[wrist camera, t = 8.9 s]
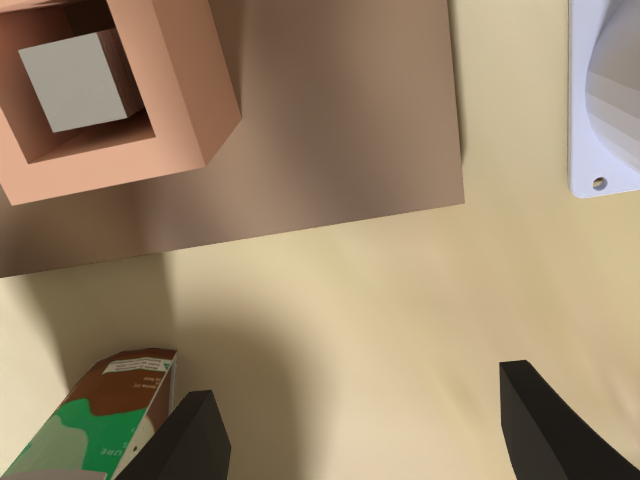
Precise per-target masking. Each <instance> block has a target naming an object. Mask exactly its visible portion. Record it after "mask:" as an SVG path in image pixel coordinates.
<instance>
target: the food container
mask: <svg viewBox="0 0 640 480" xmlns="http://www.w3.org/2000/svg"><path fill="white" fill-rule="evenodd" d="M176 359H177V351H176V350H167V349H157V348H148V349H140V350H131V351H123V352H120V353H118V354H115V355H113V356H111V357H109V358H106V359H104V360H102V361H100V362H97V363H96V364H95V365H94V366H93V367H92V368H91V369H90V370H89V371H88V372H87V373H86V374H85V375H84V376H83V377H82V378H81V380H80V381H79V382H78V383H77V384H76V386H75V387H74V388H73V389H72V391H71V392H70V393H69V394H68V396H67V397H66V398H65V399H64V400H63V402H62V403H61V404H60V405H59V407H58V408H57V409H56V410H55V412H54V413H53V414H52V415H51V416H50V418H49V419H48V420H47V421H46V423H45V424H44V425H43V426H42V428H41V429H40V430H39V431H38V432H37V434H36V435H35V436H34V437H33V439H32V440H31V441H30V442H29V444H28V445H27V446H26V447H25V448H24V450H23V451H22V452H21V453H20V455H19V456H18V457H17V458H16V460H15V461H14V462H13V463H12V464H11V466H10V467H9V468H8V469H7V471H6V472H5V473H4V474H3V476H2V477H1V478H0V480H114V479H115V478H116V477H117V476H118V475H119V473H120V472H121V471H122V470H123V469H124V468H125V467H126V466H127V465H128V464H129V463H130V462H131V460H132V459H133V458H134V457H135V456H136V455H137V454H138V453H139V451H140V450H141V449H142V448H143V447H144V446H145V444H146V443H147V442H148V441H149V440H150V438H151V437H152V436H153V435H154V434H155V433H156V431H157V430H158V429H159V428H160V426H161V425H162V424H163V423H164V422H165V420H166V419H167V418H168V417H169V416H170V414H171V413H172V412H173V399H174V386H175V373H176Z"/></svg>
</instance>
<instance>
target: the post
mask: <svg viewBox="0 0 640 480" xmlns="http://www.w3.org/2000/svg"><path fill="white" fill-rule="evenodd" d="M18 52H19V54H20V57H21V59H22V61H23V64H24V66H25V68H26V71H27V73H28V75H29V78H30V80H31V82H32V85H33V87H34V89H35V92H36V94H37V96H38V99H39V101H40V103H41V105H42V108H43V110H44V112H45V115H46V117H47V119H48V122H49V124H50V126H51V129H52V131H53V133H54V132H59V131H64V130H69V129H74V128H79V127H84V126H89V125H94V124H99V123H104V122H109V121H114V120H119V119H124V118H128V117H129V116H131V115H133V114H134V113H136V112H137V111H139V110H140V109H142V108H143V107H145V105H144V102H143V99H142V97H141V94H140V91H139V88H138V86H137V83H136V80H135V77H134V75H133V72H132V69H131V66H130V64H129V61H128V58H127V55H126V52H125V50H124V47H123V44H122V41H121V39H120V36H119V33H118V30H117V28H113V29H108V30H104V31H99V32H95V33H91V34H86V35H82V36H77V37H73V38H69V39H64V40H60V41H56V42H51V43H47V44H42V45H38V46H34V47H29V48H25V49H21V50H18Z"/></svg>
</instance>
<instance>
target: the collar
mask: <svg viewBox="0 0 640 480" xmlns="http://www.w3.org/2000/svg"><path fill="white" fill-rule="evenodd" d="M84 1H88V0H0V184H1V186H2V188H3V189H4V191H5V193H6V195H7V197H8V199H9V201H10V203H11V205H12V206H13V205H18V204H23V203H28V202H33V201H38V200H43V199H48V198H53V197H58V196H63V195H68V194H73V193H78V192H83V191H88V190H93V189H98V188H103V187H108V186H113V185H118V184H123V183H128V182H133V181H138V180H143V179H148V178H153V177H158V176H163V175H168V174H173V173H178V172H183V171H188V170H193V169H198V168H203V167H206V166H207V165H208V164H209V162H210V161H211V160H212V158H213V157H214V156H215V154H216V153H217V152H218V150H219V149H220V148H221V146H222V145H223V144H224V142H225V141H226V140H227V138H228V137H229V136H230V134H231V133H232V132H233V130H234V129H235V128H236V126H237V125H238V124H239V123H240V121H241V120H242V118H241V114H240V111H239V107H238V104H237V100H236V97H235V93H234V90H233V86H232V83H231V79H230V76H229V72H228V69H227V65H226V62H225V58H224V55H223V51H222V48H221V44H220V41H219V37H218V34H217V30H216V27H215V23H214V20H213V16H212V13H211V9H210V6H209V2H208V0H107V3H108V6H109V8H110V11H111V14H112V17H113V19H114V22H115V25H116V28H117V30H118V33H119V36H120V39H121V41H122V44H123V47H124V50H125V52H126V55H127V58H128V61H129V64H130V66H131V69H132V72H133V75H134V77H135V80H136V83H137V86H138V88H139V91H140V94H141V97H142V99H143V102H144V105H145V108H146V109H145V110H141V111H137V112H136V113H134V114H133V115H131V116H129V117H128V118H124V119H119V120H114V121H109V122H104V123H99V124H94V125H89V126H84V127H79V128H74V129H69V130H64V131H59V132H54V133H53V131H52V129H51V126H50V124H49V122H48V119H47V117H46V115H45V112H44V110H43V108H42V105H41V103H40V101H39V99H38V96H37V94H36V92H35V89H34V87H33V85H32V82H31V80H30V78H29V75H28V73H27V71H26V68H25V66H24V64H23V61H22V59H21V57H20V54H19V52H18V50H21V49H25V48H29V47H34V46H38V45H42V44H47V43H51V42H56V41H60V40H64V39H69V38H73V37H75V36H74V33H73V31H72V28H71V26H70V23H69V21H68V18H67V16H66V13H65V11H64V8H63V7H64V6H68V5H72V4H76V3H80V2H84Z"/></svg>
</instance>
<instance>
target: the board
mask: <svg viewBox="0 0 640 480" xmlns="http://www.w3.org/2000/svg"><path fill="white" fill-rule="evenodd" d="M208 2H209V6H210V9H211V13H212V16H213V20H214V23H215V27H216V30H217V34H218V37H219V41H220V44H221V48H222V51H223V55H224V58H225V62H226V65H227V69H228V72H229V76H230V79H231V83H232V86H233V90H234V93H235V97H236V100H237V104H238V107H239V111H240V114H241V118H242V120H241V121H240V123H239V124H238V125H237V126H236V128H235V129H234V130H233V132H232V133H231V134H230V136H229V137H228V138H227V140H226V141H225V142H224V144H223V145H222V146H221V148H220V149H219V150H218V152H217V153H216V154H215V156H214V157H213V158H212V160H211V161H210V162H209V164H208V165H207V166H206V167H203V168H198V169H193V170H188V171H183V172H178V173H173V174H168V175H163V176H158V177H153V178H148V179H143V180H138V181H133V182H128V183H123V184H118V185H113V186H108V187H103V188H98V189H93V190H88V191H83V192H78V193H73V194H68V195H63V196H58V197H53V198H48V199H43V200H38V201H33V202H28V203H23V204H18V205H13V206H12V205H11V203H10V201H9V199H8V197H7V195H6V193H5V191H4V189H3V188H2V186H1V184H0V278H4V277H10V276H17V275H23V274H29V273H35V272H42V271H48V270H54V269H60V268H66V267H73V266H79V265H85V264H91V263H97V262H104V261H110V260H116V259H122V258H129V257H135V256H141V255H147V254H153V253H160V252H166V251H172V250H178V249H185V248H191V247H197V246H203V245H209V244H216V243H222V242H228V241H234V240H240V239H247V238H253V237H259V236H265V235H272V234H278V233H284V232H290V231H296V230H303V229H309V228H315V227H321V226H328V225H334V224H340V223H346V222H352V221H359V220H365V219H371V218H377V217H383V216H390V215H396V214H402V213H408V212H415V211H421V210H427V209H433V208H439V207H446V206H452V205H458V204H464V203H465V200H464V188H463V177H462V165H461V154H460V143H459V131H458V120H457V109H456V97H455V86H454V74H453V63H452V52H451V40H450V29H449V18H448V6H447V0H208ZM63 8H64V11H65V13H66V16H67V18H68V21H69V23H70V26H71V28H72V31H73V33H74V36H75V37H77V36H82V35H86V34H91V33H95V32H99V31H104V30H108V29H113V28H116V25H115V22H114V19H113V17H112V14H111V11H110V8H109V6H108V3H107V0H88V1H84V2H80V3H76V4H72V5H68V6H64V7H63ZM145 109H146V108H145V107H143V108H142V109H140V110H139V111H141V110H145Z"/></svg>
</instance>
